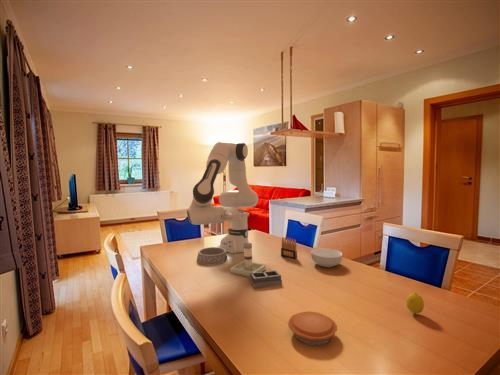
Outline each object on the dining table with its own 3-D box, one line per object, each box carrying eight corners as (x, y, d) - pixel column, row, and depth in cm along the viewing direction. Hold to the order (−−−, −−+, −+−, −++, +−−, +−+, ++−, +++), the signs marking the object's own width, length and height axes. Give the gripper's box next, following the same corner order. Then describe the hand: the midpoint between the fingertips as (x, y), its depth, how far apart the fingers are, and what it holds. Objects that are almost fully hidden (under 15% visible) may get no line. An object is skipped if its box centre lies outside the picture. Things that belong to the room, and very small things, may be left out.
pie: (328, 320, 100) (328, 307, 100) (344, 349, 84) (344, 333, 84) (285, 322, 100) (285, 308, 99) (292, 350, 84) (292, 334, 84)
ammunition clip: (297, 258, 166) (297, 238, 165) (295, 259, 164) (295, 239, 163) (282, 255, 173) (282, 236, 172) (280, 255, 172) (280, 236, 171)
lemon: (407, 308, 107) (408, 288, 107) (424, 313, 104) (425, 292, 103) (404, 314, 103) (405, 293, 102) (422, 319, 99) (423, 297, 99)
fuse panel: (254, 288, 127) (254, 279, 127) (249, 280, 136) (249, 272, 135) (281, 284, 130) (281, 276, 130) (275, 277, 139) (275, 269, 139)
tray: (230, 273, 145) (230, 267, 145) (242, 265, 156) (242, 260, 155) (254, 278, 138) (254, 272, 138) (265, 270, 149) (265, 265, 148)
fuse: (242, 270, 146) (242, 244, 145) (246, 268, 150) (246, 242, 149) (249, 272, 144) (249, 245, 143) (253, 269, 148) (253, 243, 147)
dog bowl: (229, 255, 176) (228, 246, 175) (223, 265, 158) (223, 256, 157) (202, 254, 178) (202, 246, 177) (193, 264, 159) (193, 255, 159)
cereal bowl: (344, 271, 145) (344, 258, 145) (311, 269, 149) (311, 256, 148) (340, 260, 162) (340, 248, 161) (310, 259, 165) (310, 247, 165)
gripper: (222, 212, 133) (251, 210, 136) (217, 205, 153) (242, 203, 156) (223, 225, 134) (251, 223, 137) (217, 216, 153) (242, 214, 157)
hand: (246, 212), depth 147 cm, fingers open, 8 cm apart
